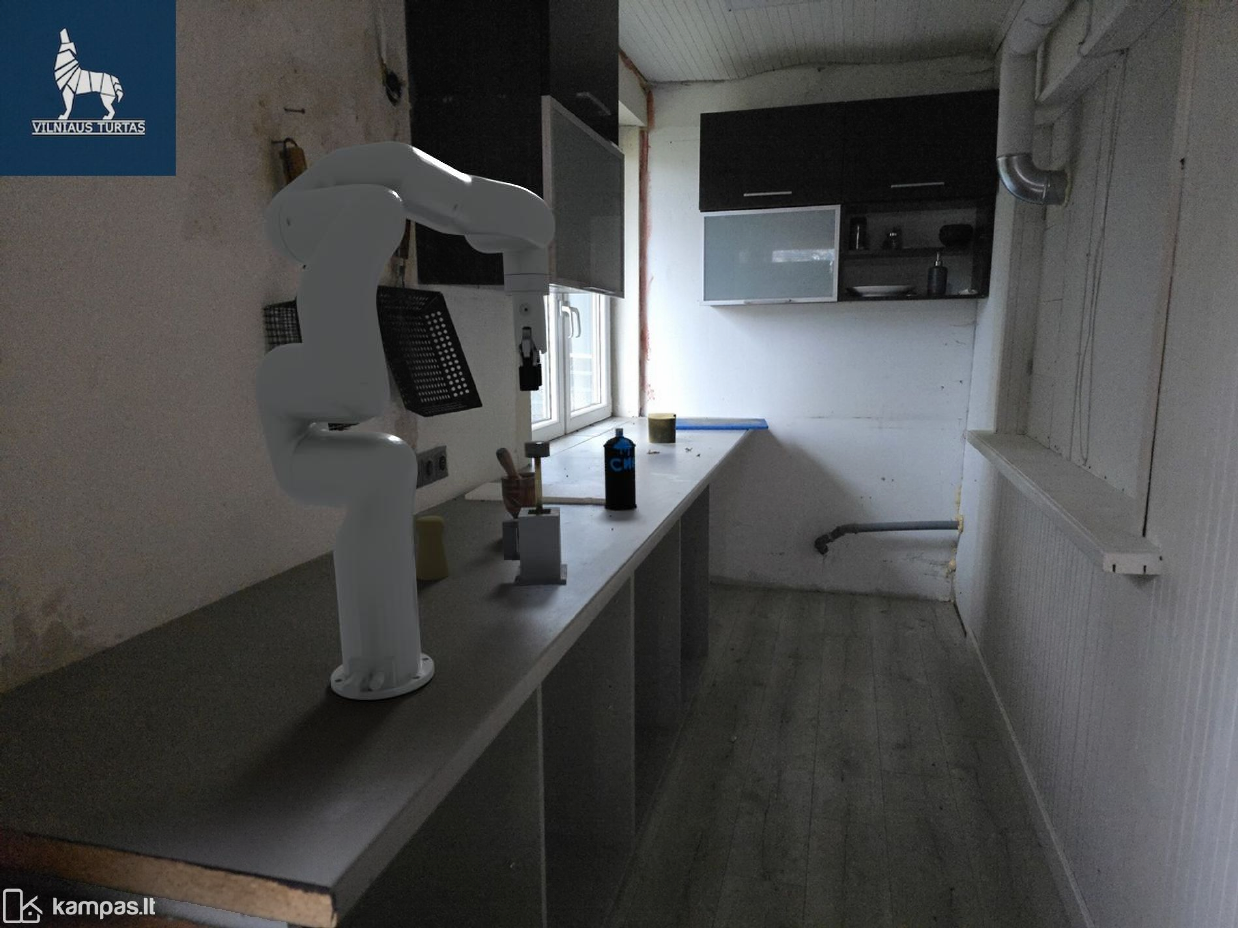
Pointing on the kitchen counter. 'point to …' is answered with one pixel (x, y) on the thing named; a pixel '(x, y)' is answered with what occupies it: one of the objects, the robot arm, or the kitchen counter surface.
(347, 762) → the kitchen counter surface
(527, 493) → the mortar and pestle
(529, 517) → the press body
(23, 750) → the kitchen counter surface
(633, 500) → the aerosol can
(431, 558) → the cork
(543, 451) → the plunger
